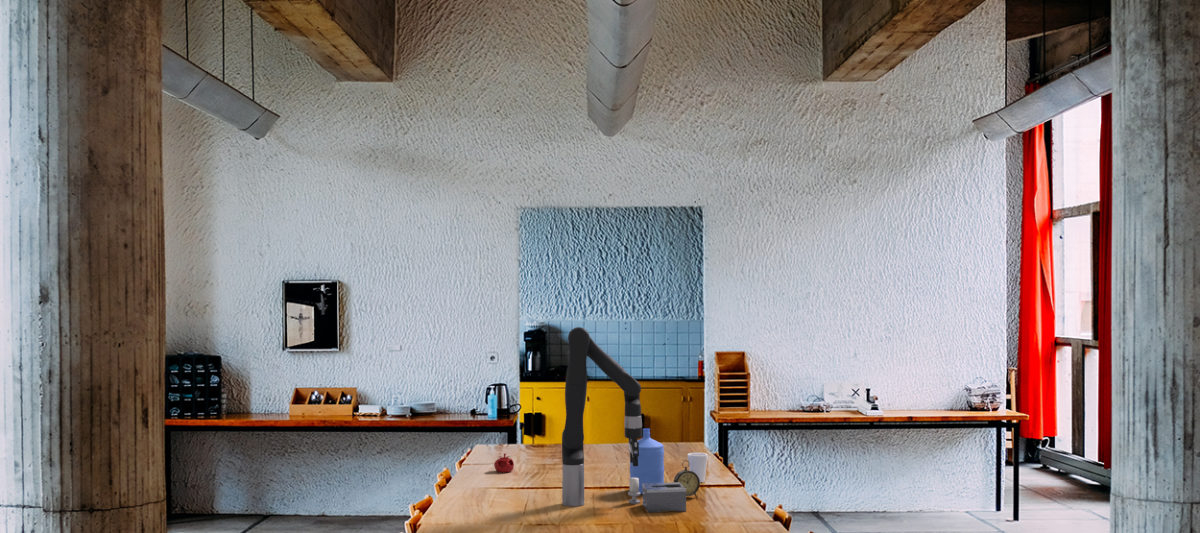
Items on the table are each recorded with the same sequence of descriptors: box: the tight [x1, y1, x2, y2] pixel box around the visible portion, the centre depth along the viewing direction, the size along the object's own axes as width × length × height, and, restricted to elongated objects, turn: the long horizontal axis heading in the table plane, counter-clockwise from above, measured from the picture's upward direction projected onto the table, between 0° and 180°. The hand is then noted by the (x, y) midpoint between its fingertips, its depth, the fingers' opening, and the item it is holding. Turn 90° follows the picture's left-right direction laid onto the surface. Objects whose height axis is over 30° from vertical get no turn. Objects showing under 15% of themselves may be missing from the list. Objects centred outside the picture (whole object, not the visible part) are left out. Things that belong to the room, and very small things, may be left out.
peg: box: [627, 477, 641, 505], centre depth 387 cm, size 5×5×10 cm
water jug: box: [629, 428, 665, 495], centre depth 411 cm, size 16×16×28 cm
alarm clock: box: [673, 459, 701, 498], centre depth 396 cm, size 11×5×16 cm, turn 105°
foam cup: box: [687, 452, 709, 483], centre depth 430 cm, size 10×9×13 cm
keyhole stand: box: [642, 481, 687, 513], centre depth 377 cm, size 16×14×9 cm
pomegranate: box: [493, 452, 515, 473], centre depth 460 cm, size 10×10×9 cm
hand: (634, 464), depth 387 cm, fingers open, 8 cm apart
